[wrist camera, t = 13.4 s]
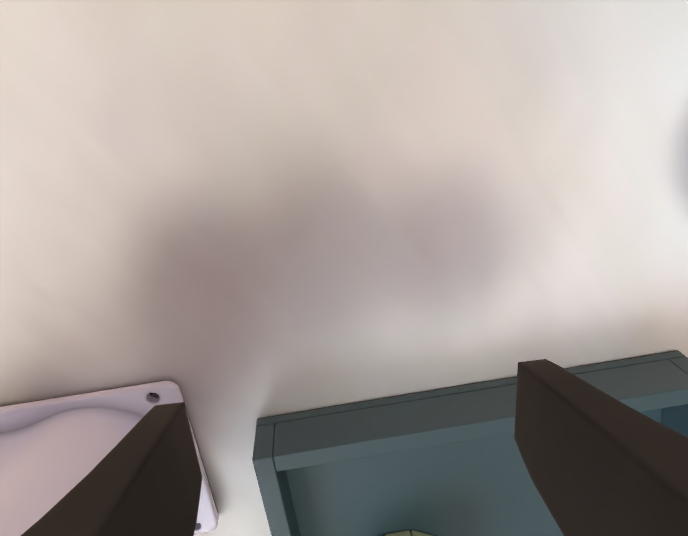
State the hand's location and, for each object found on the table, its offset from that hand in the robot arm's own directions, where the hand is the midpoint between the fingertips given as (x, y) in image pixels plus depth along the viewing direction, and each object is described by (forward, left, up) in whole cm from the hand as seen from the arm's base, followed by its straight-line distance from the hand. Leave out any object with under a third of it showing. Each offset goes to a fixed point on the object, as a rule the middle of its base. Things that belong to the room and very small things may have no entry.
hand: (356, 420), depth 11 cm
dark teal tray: (+5, -14, -9) cm, 17 cm away
